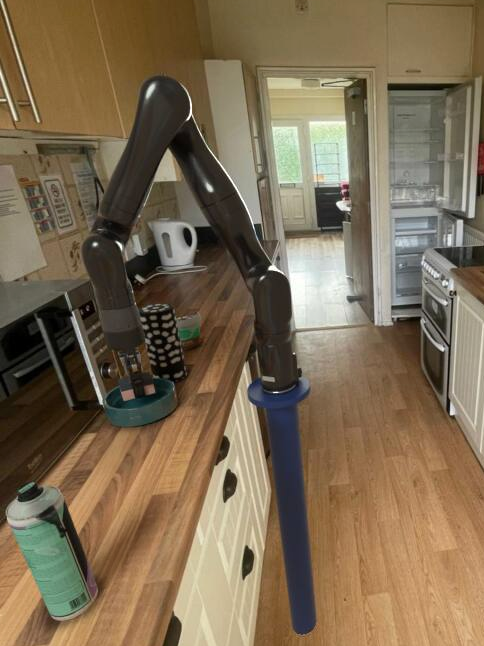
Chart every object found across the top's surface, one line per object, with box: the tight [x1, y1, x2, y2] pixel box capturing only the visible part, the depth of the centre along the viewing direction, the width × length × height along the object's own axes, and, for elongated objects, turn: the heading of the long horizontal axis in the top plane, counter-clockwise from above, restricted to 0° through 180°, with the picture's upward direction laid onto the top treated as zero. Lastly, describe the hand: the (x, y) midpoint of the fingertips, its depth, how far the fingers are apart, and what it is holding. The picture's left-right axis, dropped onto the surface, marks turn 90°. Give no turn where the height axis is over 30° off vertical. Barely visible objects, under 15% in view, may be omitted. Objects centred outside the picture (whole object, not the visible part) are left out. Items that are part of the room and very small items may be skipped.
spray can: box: [5, 480, 99, 622], centre depth 54 cm, size 6×6×20 cm
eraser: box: [117, 371, 155, 401], centre depth 99 cm, size 6×4×4 cm, turn 127°
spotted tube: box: [138, 302, 188, 383], centre depth 114 cm, size 8×8×20 cm
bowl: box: [101, 377, 179, 428], centre depth 101 cm, size 15×15×5 cm
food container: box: [176, 310, 202, 351], centre depth 134 cm, size 12×6×10 cm, turn 132°
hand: (138, 392), depth 100 cm, fingers closed on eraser, 3 cm apart
